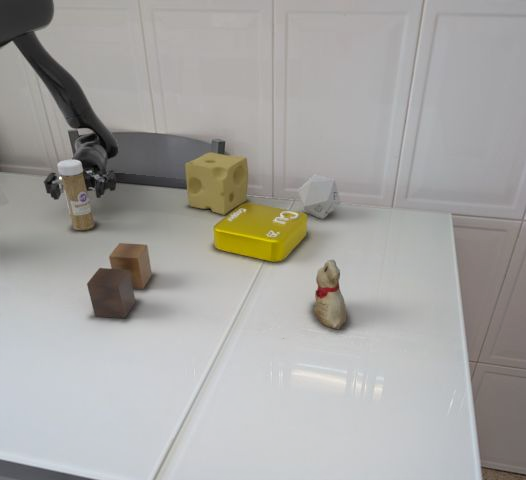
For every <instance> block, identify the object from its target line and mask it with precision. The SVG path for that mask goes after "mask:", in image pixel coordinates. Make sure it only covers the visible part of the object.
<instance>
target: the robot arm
mask: <svg viewBox="0 0 526 480" xmlns="http://www.w3.org/2000/svg"><path fill="white" fill-rule="evenodd" d="M54 16H55V3H54V0H0V50H2V49H3V48H4V47H6V46H7V45H9V44H10V43H11V42H12V43H13V44H14V46H15V47H16V48H17V50H18V51H19V52H20V53H21V55H22V56H23V58H24V59H25V60H26V62H27V63H28V64H29V65H30V67H31V68H32V69H33V70H34V72H35V73H36V75H37V76H38V77H39V78H40V80H41V81H42V83H43V84H44V86H45V88H47V90H48V92H49V94H50V96H51V97H52V99H53V100H54V102H55V104H56V106H57V107H58V110H59V111H60V112H61V114H62V116H63V118H64V120H65V122H66V123H67V125H68V126H69V127H70V128H71V129H73V130H79V129H87V130H90V131H92V132H90V133H88V134H85V135H82V136H79V137H78V138H77V139H76V140H75V141H74V149H75V153H74V154H73V156H72V157H71V160H79V161H80V162H81V164H82V168H83V177H84V181H85V185H86V190H87V192H92V191H94V192H95V196H96V198H97V199H101V198H102V196H104V195H105V193H106V192H108V190H109V191H110V192H111V191H112V192H113V191H116V190H117V189H116V188H117V178H116V173H115V170H114V169H110V170H108V172H107V170H106V169H107V164H108V161H109V160H110V159H113V158H115V157H117V156H118V155H119V151H118V145H119V143H118V144H117V142H118V140H117V138H116V137H115V138H116V139H115V138H114V136H115V135H114V134H113V133H112V131H111V130H110V128H108V127H107V126H106V125H105V123H104V122H103V121H102V120H101V119H100V117H99V116H98V115H97V113H96V111H94V109H93V107H92V105H91V103H90V101H89V99H88V96H87V95H86V94H85V92H84V89H83V88H82V86H81V84H80V83H79V81H77V79H76V78H75V77H74V76H73V75H72V74H71V73H70V72H69V71H68V70H67V69H66V68H65V67H64V66H62V64H60V63H59V62H58V61H57V60H56V59H55V58H54V57H53V56H52V55H51V53H49V52H48V50H47V48H45V46H44V45H43V44H42V42H41V41H40V39H39V37H38V36H37V34H36V32H38V31H41V30H44V29H46V28H48V27H49V25H50V24H51V23H52V21H53V19H54ZM112 134H113V135H114V136H113V135H112ZM116 140H117V141H116ZM43 183H44V187H45V192H46V194H49V195H50V197H51V198H53V201H57V200H59V199H60V197H61V195H62V194H63V193H64V188H63V183H62V179H61V176H60V175H57V173H56V172H50V173H49V174H48V175H47V177H46V178H45V179H44V180H43ZM60 185H61V187H60Z"/></svg>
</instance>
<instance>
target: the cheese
mask: <svg viewBox="0 0 526 480" xmlns="http://www.w3.org/2000/svg"><path fill="white" fill-rule="evenodd" d="M248 165H249V164H248V159H247V157H245V156H237V155H227V154H221V153H217V152H211V151H209V152H207V153H205V154H203V155H201V156H199V157H197V158H195V159H192V160H190V161H187V162H186V163H184V167H185V168H184V169H185V171H184V172H185V179H186V180H185V181H186V193H187V200H188V205H189V207H193V208H197V209H201V210H209V209H210V210H211V212H213V213H215V214H220V215H223V216H224V215H226V214H228V213H230V212H231V211H232V210H234V209H236V208H237V207H239V206H240V205H242V204H244V203H246V201H247V196H248V186H249V166H248Z"/></svg>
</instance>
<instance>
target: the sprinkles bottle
mask: <svg viewBox="0 0 526 480" xmlns="http://www.w3.org/2000/svg"><path fill="white" fill-rule="evenodd" d="M56 165H57V166H56V167H57V170H58V174H59V176H61V179H62V183H63V188H64V192H63V193H64V196H65V197H64V198H65V201H66V205H67V209H68V213H69V215H70V218H71V223H72V229H74V230H76V231H88V230H90V229H93V228H94V227H95V221H94V217H93V214H92V213H93V212H92V207H91V201H90V198H89V194H88V191H87V190H86V185H85V181H84V177H83V168H82V164H81V162H80V161H79V160H72V159H64V160H61V161H58V163H57V164H56Z"/></svg>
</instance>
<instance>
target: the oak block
mask: <svg viewBox="0 0 526 480" xmlns="http://www.w3.org/2000/svg"><path fill="white" fill-rule="evenodd" d="M108 258H109V264H110V269H123V270H130V275H131V280H132V286H133V290H144V289H145V287H146V285H147V284H148V282H149V281H150V279H151V277H152V276H153V273H152V267H151V260H150V253H149V248H148V244H142V243H127V242H126V243H124V242H119V243H118V244H117V246H115V248H114V249H113V251H112V252H110V254H109V256H108Z"/></svg>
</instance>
